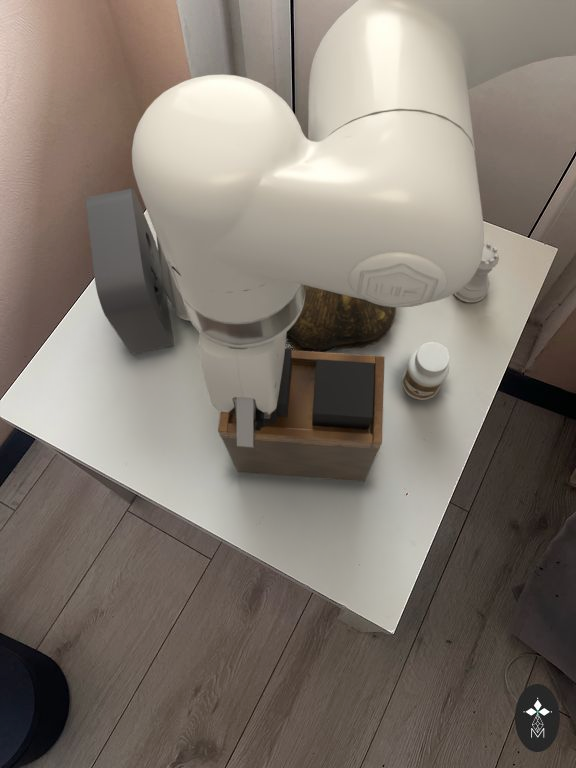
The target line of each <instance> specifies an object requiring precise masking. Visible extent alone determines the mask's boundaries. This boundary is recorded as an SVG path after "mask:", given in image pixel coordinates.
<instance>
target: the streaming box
mask: <svg viewBox="0 0 576 768" xmlns="http://www.w3.org/2000/svg"><path fill="white" fill-rule="evenodd" d="M85 208H86V215H87V224H88V233H89V242H90V252H91V259H92V269H93V276H94V277H93V278H94V284H95V289H96V293H97V297H98V300H99V303H100V306H101V309H102V311H103V313H104V316H105V317H106V319H107V321H108V322H109V324H110V326H112V328H113V329H114V331H115V333H116V334H117V336H118V337H119V339H120V340H121V341H122V343H123V344H124V346H125V347H126V349H127V350H128V352H129V353H130V355H136V354H142V353H147V352H151V351H155V350H156V351H157V350H161V349H165V348H170V347H174V345H175V340H174V332H173V326H172V320H171V313H170V307H169V303H168V300H169V299H168V297H167V295H166V293H165V291H164V290H163V287H162V282H161V267H160V260H159V253H158V245H157V241H156V240H155V237H154V234H153V233H152V230H151V228H150V225H149V223H148V220H147V218H146V214H145V212H144V210H143V208H142V206H141V203H140V201H139V198H138V196H137V193H136V191H135V189H134V188H128V189H122V190H118V191H112V192H108V193H107V192H106V193H103V194H96V195H90V196H87V197H86V200H85Z"/></svg>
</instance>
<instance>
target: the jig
mask: <svg viewBox="0 0 576 768" xmlns="http://www.w3.org/2000/svg"><path fill="white" fill-rule="evenodd" d="M291 353H292V371H291V382H290V394H289V405H288V416H287V417H277V423H266V427H262V428H261V430H260V431H257V435H256V440H255V445H254V448H247V447H237V425H236V423H237V422H236V415H235V414H234V413H230V412H222V411H219V412H220V413H219V419H218V428H217V429H218V430H217V432H218V435H219V436H220V438H221V440H222V442H223V444H224V446H225V449H226V450H227V453H228V455H229V457H230V459H231V461H232V463H233V465H234V467H235V470H236V472H237V473H246V474H259V475H274V476H285V477H286V476H287V477H297V478H298V477H300V478H310V479H311V478H312V479H324V480H325V479H326V480H336V481H337V480H339V481H352V482H366V480H367V478H368V475H369V473H370V471H371V469H372V467H373V464H374V462H375V460H376V457H377V455H378V454H379V453H378V452H379V450H380V449H381V446H382V443H383V425H384V424H383V423H384V422H383V421H384V393H385V391H384V388H385V356H383V355H368V354H367V355H366V354H355V353H353V354H351V353H338V352H321V351H313V352H309V351H295V350H294V349H293V350H292V349H291ZM317 359H322V360H337V361H352V362H367V363H374V364H375V366H374V394H373V418H372V421H371V424H370V427H369V429H368V430H365V429H351V428H337V427H323V426H312V415H313V400H314V387H315V373H316V360H317Z"/></svg>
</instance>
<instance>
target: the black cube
mask: <svg viewBox="0 0 576 768" xmlns="http://www.w3.org/2000/svg"><path fill="white" fill-rule="evenodd" d="M291 350H292V347H285V354H284V362H283V369H282V376H281V382H280V389H279V395H278V401H277V407H276V411H277V417H287V416H288V405H289V394H290V382H291V371H292V353H291ZM229 412H230V413H234V414H235V407H234V408H233V409H232V410H231V411H229Z"/></svg>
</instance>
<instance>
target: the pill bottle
mask: <svg viewBox="0 0 576 768" xmlns="http://www.w3.org/2000/svg"><path fill="white" fill-rule="evenodd" d="M450 360H451V356H450V352H449V350H448V348H447V347H446V346H445V345H443V344H442V343H440V342H436V341H429V342H425V343H423V344H422V345H420V347H419V348H418V349H417V350H416V351H414V353H413V354H411V356H410V357H409V359H408V361H407V364H406V367H405V369H404V371H403V375H402V377H401V384H402V387H403V390H404V391H405V393H406V394H407V395H408V396H409V397H411V398H413V399H416V400H420V401H425V400H429V399H431V398H433V397H435V396H436V395H437V394H438V392H439V390H440V389H441V387H442V386H443V384H444V382H445V381H446V380H447V378H448V375H449V372H450V362H451V361H450Z"/></svg>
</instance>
